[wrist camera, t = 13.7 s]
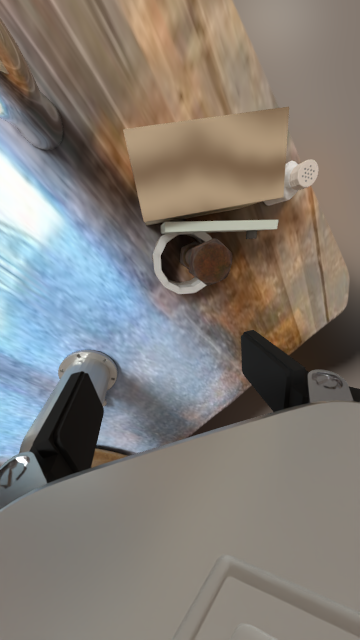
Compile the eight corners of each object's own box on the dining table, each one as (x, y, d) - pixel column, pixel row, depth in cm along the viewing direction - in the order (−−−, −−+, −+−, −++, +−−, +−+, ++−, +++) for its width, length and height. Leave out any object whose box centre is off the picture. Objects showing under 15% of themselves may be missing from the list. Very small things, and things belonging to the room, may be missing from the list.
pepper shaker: (253, 191, 34) (289, 175, 25) (268, 171, 33) (311, 147, 24) (266, 207, 35) (305, 197, 27) (281, 188, 34) (326, 171, 26)
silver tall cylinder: (63, 95, 25) (-34, -74, 12) (69, 158, 28) (-3, 82, 14) (4, 80, 24) (-183, -130, 10) (17, 148, 26) (-118, 53, 13)
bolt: (206, 253, 37) (241, 261, 23) (191, 273, 38) (216, 292, 24) (184, 233, 35) (208, 230, 21) (168, 256, 36) (182, 266, 22)
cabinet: (242, 275, 40) (277, 287, 29) (159, 292, 38) (164, 313, 28) (240, 152, 31) (288, 106, 20) (131, 169, 30) (123, 129, 19)
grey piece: (243, 286, 38) (265, 297, 31) (156, 293, 35) (158, 306, 29) (251, 223, 33) (278, 219, 26) (150, 226, 31) (151, 222, 24)
